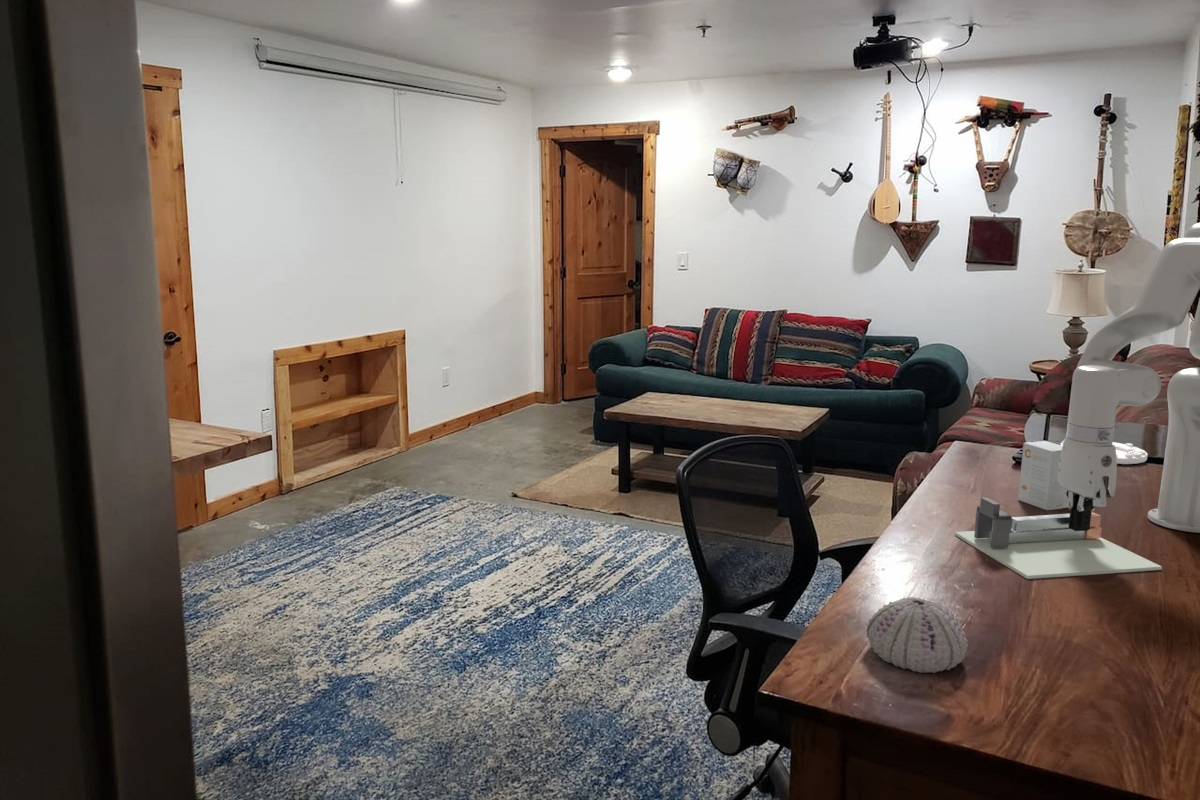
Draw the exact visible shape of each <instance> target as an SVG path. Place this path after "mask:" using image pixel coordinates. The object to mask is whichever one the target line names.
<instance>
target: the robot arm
mask: <svg viewBox="0 0 1200 800" xmlns="http://www.w3.org/2000/svg"><path fill="white" fill-rule="evenodd" d="M1199 291H1200V222H1198V223H1195V224H1193V225H1192V226H1190V227H1189V228H1188V230H1187V232H1186V233H1185V237H1180V238H1176V239H1175V238H1174V239H1173V240H1171V241H1169V242H1167V243H1166V244H1165V245H1164V246H1163V247H1162V249H1161V251H1160V253H1159V254H1158V256H1157V259H1156V261H1154V265H1153V266H1152V268H1151V269H1150V272H1149V274H1148V277H1147V278H1146V280H1145V282H1144V283H1143V286H1142V288H1141V289H1140V292H1139V293H1138V296H1137V298H1136V301H1135V302H1134V304H1132V305H1133V306H1131V307H1130V308H1129V309H1127V310H1126V311H1124V312H1123V313H1120V314H1119V315H1118V316H1117V317H1115V318H1113V319H1112V320H1110V321H1109V322H1108V323H1107V324H1105V325H1104V326H1103V327H1102V328H1101V329H1099V330H1098V331H1097V332H1096V333H1095V334H1094V335H1093V336H1092V337H1091V339H1090V340H1089V342H1088V343H1087V345H1086V346H1085V349H1084V351H1083V353H1082V355H1081V356H1080V359H1079V360H1078V362H1077V365H1076V368H1075V369H1074V371H1073V372H1072V379H1071V389H1070V396H1069V397H1070V398H1069V407H1068V415H1067V425H1066V433H1065V434H1066V435H1065V438H1064V439H1065V440H1063V441H1064V443H1063V447H1062V451H1061V455H1060V461H1059V467H1058V483H1059V485H1060V486H1061V487H1060V489H1061V491H1062V492H1064V493H1065V494H1066V495H1067V497H1068V505H1069V507H1068V508H1070V510H1069V514H1070V518H1069V528H1070V529H1073V530H1074V531H1087V530H1089V529H1090V521H1091V512H1094V511H1095V509H1096V508H1103V507H1107V498H1108V499H1111V498H1114V496H1115V493H1116V487H1117V472H1118V471H1117V470H1118V469H1117V467H1118V464H1117V460H1116V449H1115V445H1112V443H1113V442H1114V441H1113V440H1114V439H1115V435H1114V434H1115V424H1116V417H1117V410H1118V409H1117V408H1118V406H1129V407H1130V406H1131V407H1141V406H1145V405H1148V404H1150V403H1152V402H1153V401H1154V400H1156V398H1157V397H1158V396H1159V394H1160V392H1161V390H1162V380H1161V377H1160V375H1159V374H1158V372H1157V371H1155V370H1154V369H1153V368H1151V367H1148V366H1146V365H1141V364H1136V363H1129V362H1124V361H1117V360H1113V359H1114V358H1115V357H1116V355H1117V354H1118V353H1119V352H1120V351H1121V350H1122V349H1123V348H1125V347H1126V346H1128V345H1130V344H1131V343H1134V342H1136V341H1139V340H1141V339H1144V338H1147V337H1151V336H1155V335H1157V334H1161V333H1164V332H1167V331H1171V330H1175V329H1176V328H1178V327H1180V326H1181V325H1182V324H1183V322H1184V320H1186V317H1187V315H1188V312H1189V310H1190V309H1191V307H1192V305H1193V303H1194V301H1195V299H1196V297H1197V295H1198V292H1199ZM1190 331H1191V332H1190V337H1189V341H1188V348H1189V353H1190V354H1191V355H1192V356H1193V357H1194V358H1195V359H1198V360H1200V298H1198V304H1197V308H1196V311H1195V315H1194V320H1193V324H1192V327H1191V330H1190ZM1166 394H1167V406H1168V423H1167V425H1168V426H1167V437H1166V444H1165V449H1164V450H1165V451H1164V459H1163V467H1162V473H1161V480H1160V481H1161V482H1160V488H1159V495H1158V501H1157V502H1158V503H1157V508H1152V509H1150V510H1148V512H1147V519H1148V520H1149V521H1151V522H1152V523H1154V524H1156V525H1159V526H1161V527H1164V528H1167V529H1171V530H1176V531H1180V532H1181V531H1182V532H1189V533H1198V534H1199V533H1200V367H1189V368H1183V369H1181V370H1179V371H1177V372H1176V373H1174V374H1173V376H1172V377H1171V378H1170V379H1169V382H1168V386H1167V392H1166Z"/></svg>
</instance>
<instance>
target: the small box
mask: <svg viewBox="0 0 1200 800" xmlns="http://www.w3.org/2000/svg"><path fill="white" fill-rule="evenodd" d="M1022 446H1023V448H1022V457H1021V465H1020V475H1019V487H1018V494H1017V495H1018V496H1017V500H1018V501H1020V502H1023V503H1026V504H1029V505H1031V506H1034V507H1037V508H1040V509H1042V510H1045V511H1054V510H1062V509H1066V508H1067V509H1068V508H1070V507H1069V505H1068V497H1067V495H1066V494H1065V493H1064V492H1062V491H1061V489H1060V487H1061V486H1060V485H1059V483H1058V467H1059V461H1060V455H1061V451H1062V447H1063V446H1062V445H1060V444H1058V443H1053V442H1051V441H1047V440H1040V441H1038V440H1037V441H1027V442H1026V441H1025V442H1023V445H1022Z"/></svg>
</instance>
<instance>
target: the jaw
mask: <svg viewBox="0 0 1200 800" xmlns="http://www.w3.org/2000/svg"><path fill="white" fill-rule="evenodd" d="M1011 518H1013V519H1012V529H1013V530H1015V531H1022V530H1036V529H1050V528H1064V527H1069V518H1070V513H1058V514H1057V513H1056V514H1046V515H1045V514H1043V515H1030V516H1027V515H1026V516H1011ZM1101 521H1102V515H1100V514H1099V513H1096V512H1094V511H1092V512H1091V521H1090V526H1098V527H1101Z"/></svg>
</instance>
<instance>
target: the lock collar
mask: <svg viewBox="0 0 1200 800" xmlns="http://www.w3.org/2000/svg"><path fill="white" fill-rule="evenodd" d="M980 498H981V499H980V505H979V506H977V507H976V514H975V524H974V525H975V526H974V531H975V534H974V537H975V538H976V539H980V538H988V536H989V530H992V539H991V547H992V548H1008V544H1009V534H1010V525H1011V517H1012V515H1010V514H1009V513H1007V512H1005V511H1003V510H1001V509H1000V508H1001V503H999V502H997V501H995V500H993V499H991V498H989V497H980Z"/></svg>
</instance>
